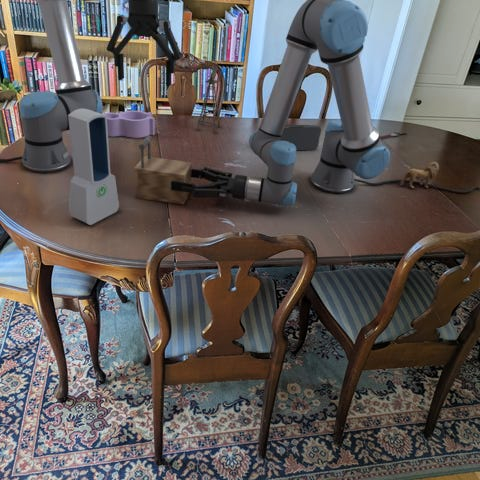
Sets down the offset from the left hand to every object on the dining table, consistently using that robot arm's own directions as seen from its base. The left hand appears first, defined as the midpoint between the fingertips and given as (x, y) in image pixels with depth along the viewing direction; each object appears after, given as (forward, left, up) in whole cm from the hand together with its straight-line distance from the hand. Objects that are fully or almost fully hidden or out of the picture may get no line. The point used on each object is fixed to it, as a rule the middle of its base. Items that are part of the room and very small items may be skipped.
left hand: (144, 82), depth 131 cm
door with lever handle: (+5, 0, -26) cm, 26 cm away
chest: (+6, 0, -34) cm, 35 cm away
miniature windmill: (+8, +65, -34) cm, 74 cm away
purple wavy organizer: (-22, +48, -34) cm, 63 cm away
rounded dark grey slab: (+45, +53, -34) cm, 77 cm away
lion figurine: (+92, +34, -34) cm, 104 cm away
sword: (+88, +83, -34) cm, 126 cm away
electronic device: (-10, -18, -34) cm, 40 cm away
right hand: (+9, 0, -28) cm, 30 cm away
